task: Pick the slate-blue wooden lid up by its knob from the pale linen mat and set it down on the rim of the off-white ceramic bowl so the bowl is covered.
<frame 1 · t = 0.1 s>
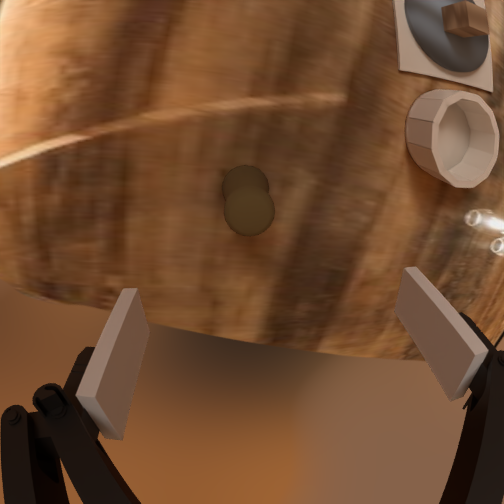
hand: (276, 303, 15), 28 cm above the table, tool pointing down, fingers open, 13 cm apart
bowl: (439, 132, 38), on the table
cork: (245, 187, 41), on the table
mat: (446, 23, 30), on the table
lid: (448, 23, 30), point 1 cm above the table, touching mat
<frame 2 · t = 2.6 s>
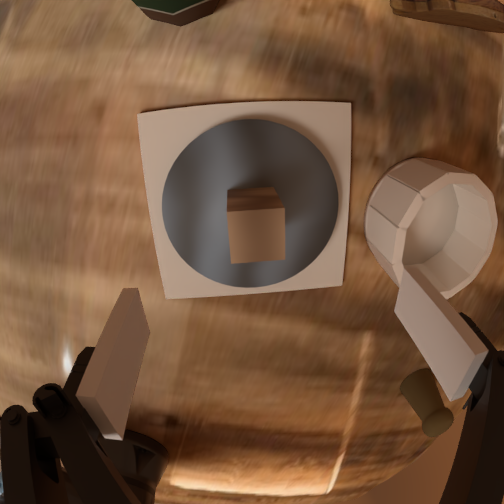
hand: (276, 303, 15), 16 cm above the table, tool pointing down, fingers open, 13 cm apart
bowl: (415, 215, 31), on the table
cork: (415, 380, 44), on the table
wooden carving: (431, 14, 22), on the table
mat: (250, 204, 30), on the table
lid: (250, 206, 29), point 1 cm above the table, touching mat
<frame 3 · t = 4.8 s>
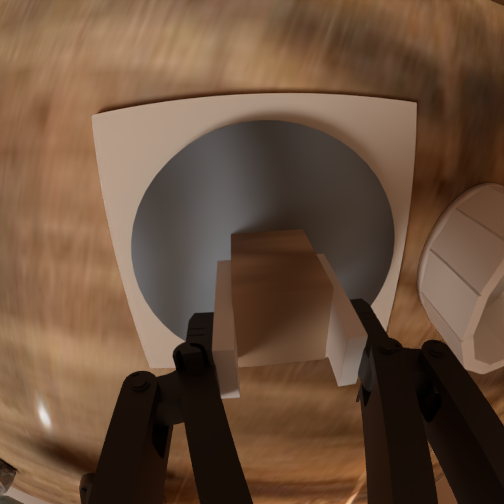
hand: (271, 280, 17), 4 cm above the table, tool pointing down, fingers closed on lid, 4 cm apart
bowl: (477, 257, 22), on the table
mat: (265, 250, 20), on the table
lid: (266, 254, 19), point 1 cm above the table, touching gripper, mat
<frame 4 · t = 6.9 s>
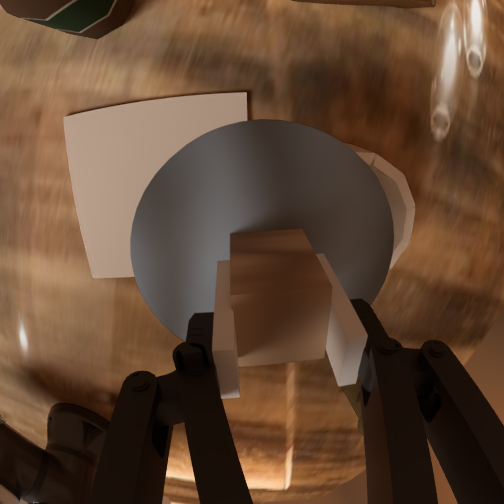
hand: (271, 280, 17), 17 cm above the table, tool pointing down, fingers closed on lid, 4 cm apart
beer bottle: (102, 9, 22), on the table
bowl: (329, 202, 33), on the table
cork: (357, 377, 46), on the table
mat: (156, 192, 31), on the table
lid: (265, 253, 19), point 14 cm above the table, touching gripper
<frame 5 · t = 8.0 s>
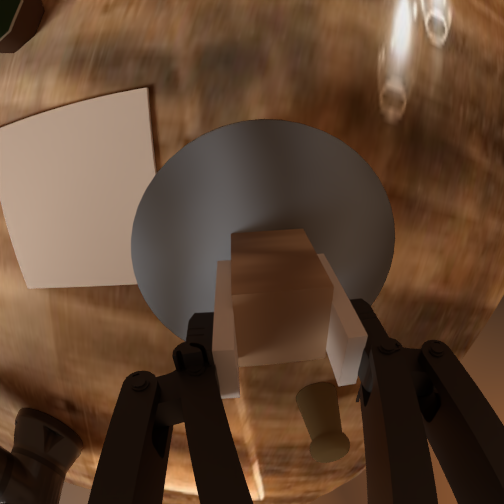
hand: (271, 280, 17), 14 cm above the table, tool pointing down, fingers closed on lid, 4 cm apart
beer bottle: (18, 22, 18), on the table
cork: (315, 394, 43), on the table
mat: (71, 201, 28), on the table
lid: (266, 253, 19), point 11 cm above the table, touching gripper
when the fingers open (12 cm above the table, at t = 8.9 s): lid drops 2 cm, resting on bowl.
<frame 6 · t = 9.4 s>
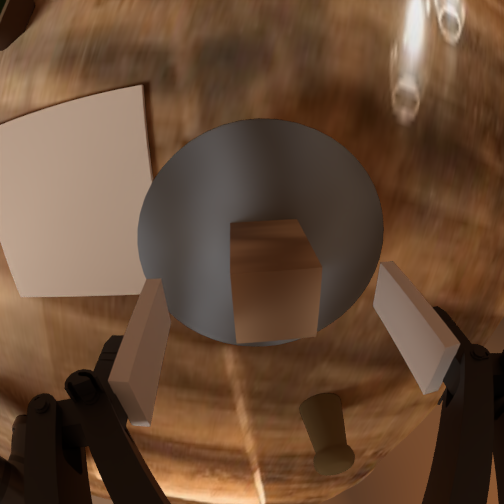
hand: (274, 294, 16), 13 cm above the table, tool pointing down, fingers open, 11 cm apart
beer bottle: (8, 18, 16), on the table
cork: (319, 404, 41), on the table
mat: (62, 207, 26), on the table
lid: (262, 242, 21), point 7 cm above the table, touching bowl
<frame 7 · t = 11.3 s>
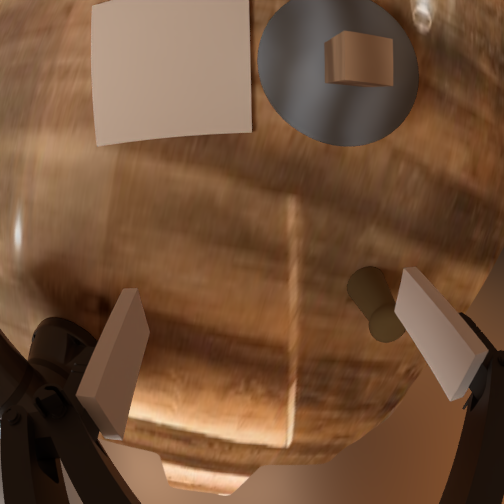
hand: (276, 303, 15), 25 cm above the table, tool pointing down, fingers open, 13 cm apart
cork: (365, 283, 45), on the table
mat: (166, 59, 30), on the table
lid: (341, 66, 25), point 7 cm above the table, touching bowl
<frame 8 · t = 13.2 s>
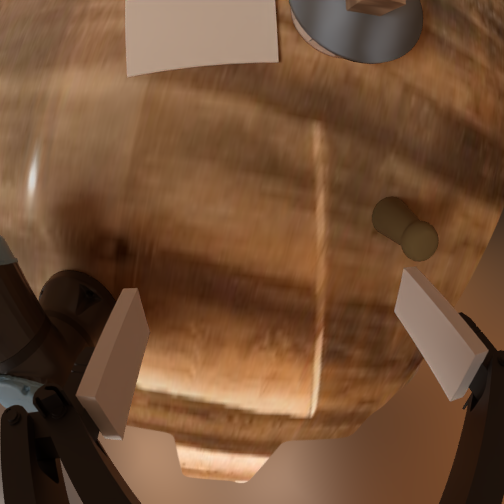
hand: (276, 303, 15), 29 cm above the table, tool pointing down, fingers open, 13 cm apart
bowl: (339, 15, 31), on the table
cork: (389, 215, 45), on the table
mat: (198, 1, 30), on the table
lid: (358, 0, 25), point 7 cm above the table, touching bowl
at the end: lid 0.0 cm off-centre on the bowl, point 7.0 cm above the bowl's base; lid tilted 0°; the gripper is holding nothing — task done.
